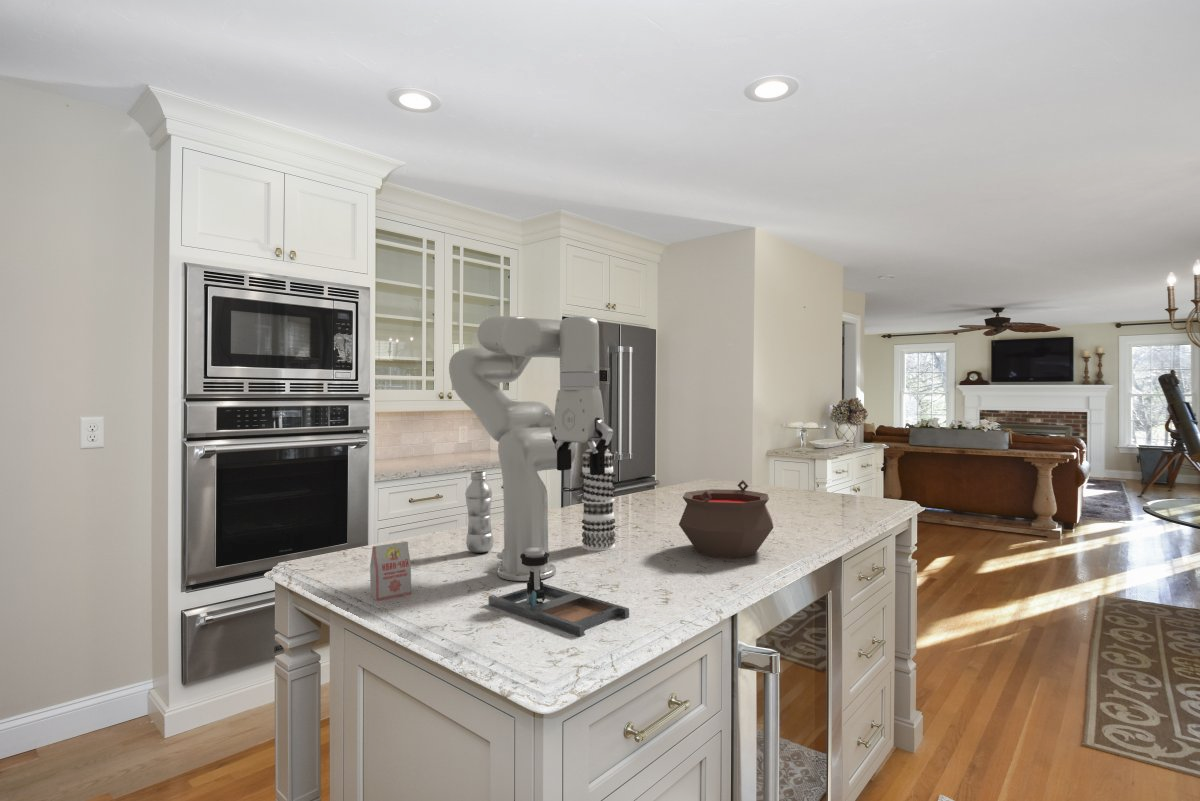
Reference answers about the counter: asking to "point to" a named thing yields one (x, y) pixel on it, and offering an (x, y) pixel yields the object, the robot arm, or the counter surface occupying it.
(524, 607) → the rail
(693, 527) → the brown cauldron
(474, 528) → the plastic bottle
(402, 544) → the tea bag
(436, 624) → the counter surface
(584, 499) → the decorative candle
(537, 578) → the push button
